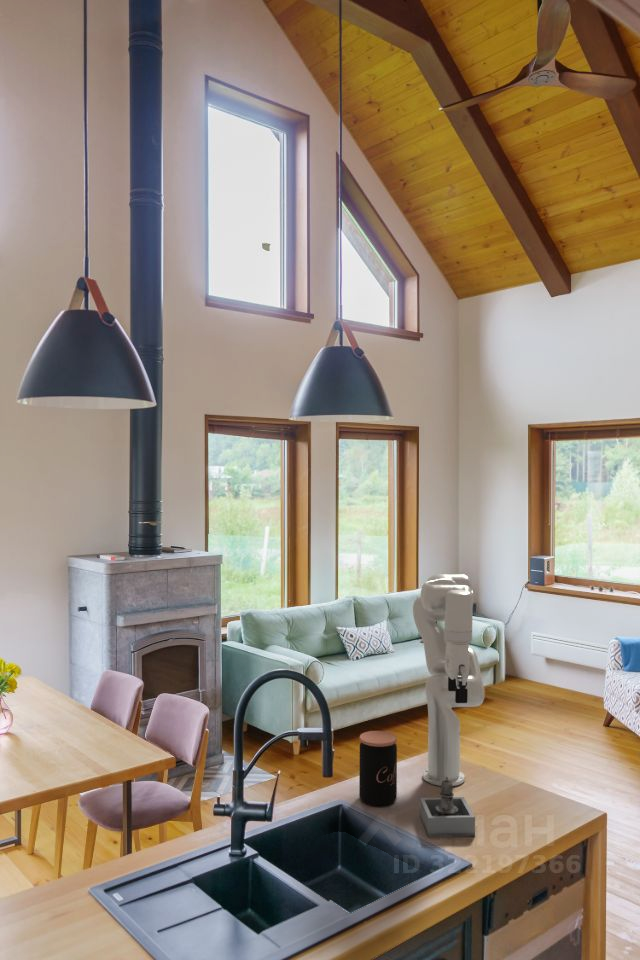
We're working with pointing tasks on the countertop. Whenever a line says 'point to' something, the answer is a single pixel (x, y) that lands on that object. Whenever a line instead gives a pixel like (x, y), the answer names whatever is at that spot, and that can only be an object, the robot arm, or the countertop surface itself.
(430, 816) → the bin
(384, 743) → the coffee jar
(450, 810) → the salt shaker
